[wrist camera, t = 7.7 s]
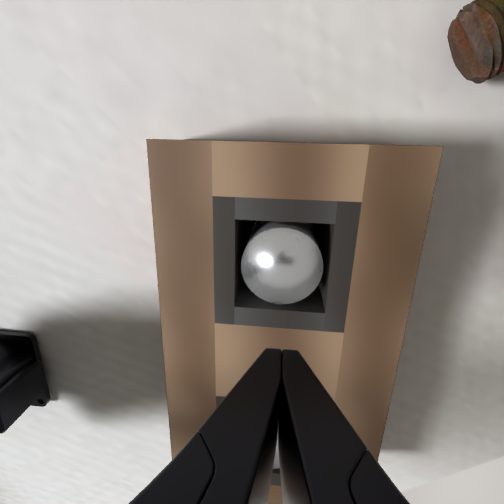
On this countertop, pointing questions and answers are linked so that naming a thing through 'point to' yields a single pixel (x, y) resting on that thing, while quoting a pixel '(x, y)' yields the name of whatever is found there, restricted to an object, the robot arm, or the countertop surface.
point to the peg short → (282, 261)
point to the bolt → (478, 40)
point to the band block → (301, 312)
